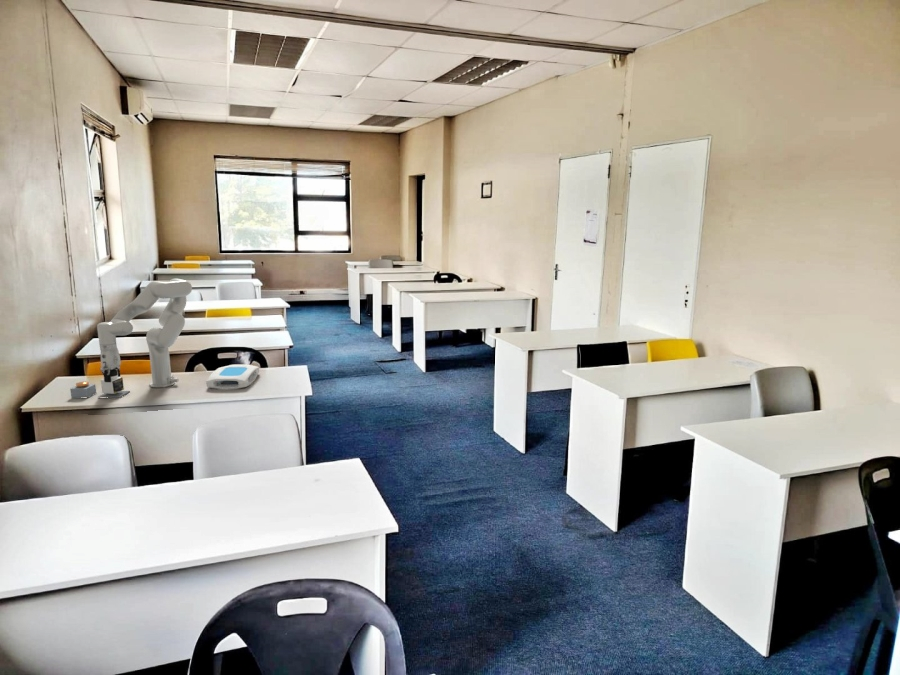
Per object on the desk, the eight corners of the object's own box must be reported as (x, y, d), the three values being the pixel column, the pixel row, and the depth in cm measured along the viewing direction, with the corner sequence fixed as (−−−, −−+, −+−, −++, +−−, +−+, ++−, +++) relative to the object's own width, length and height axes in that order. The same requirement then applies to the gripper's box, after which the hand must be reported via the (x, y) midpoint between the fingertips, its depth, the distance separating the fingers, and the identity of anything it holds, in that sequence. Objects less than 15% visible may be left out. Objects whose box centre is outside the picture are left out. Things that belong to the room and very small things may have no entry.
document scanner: (259, 374, 345) (259, 364, 344) (246, 389, 318) (245, 378, 317) (223, 374, 344) (222, 364, 343) (206, 389, 317) (205, 378, 316)
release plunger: (92, 393, 308) (91, 381, 306) (86, 397, 302) (84, 384, 301) (81, 393, 307) (80, 381, 306) (75, 397, 302) (73, 384, 301)
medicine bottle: (114, 394, 302) (111, 371, 299) (102, 393, 303) (98, 370, 300) (124, 389, 308) (121, 367, 306) (112, 388, 310) (109, 366, 307)
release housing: (96, 393, 309) (95, 384, 308) (87, 398, 301) (85, 388, 300) (81, 393, 309) (79, 383, 308) (71, 398, 301) (70, 388, 300)
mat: (129, 392, 311) (129, 390, 311) (119, 398, 301) (119, 397, 301) (109, 392, 311) (108, 390, 310) (98, 398, 301) (97, 396, 301)
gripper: (106, 350, 291) (110, 384, 296) (124, 342, 308) (128, 374, 312) (90, 350, 291) (95, 384, 296) (110, 342, 308) (114, 374, 312)
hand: (112, 379), depth 304 cm, fingers closed on medicine bottle, 7 cm apart
